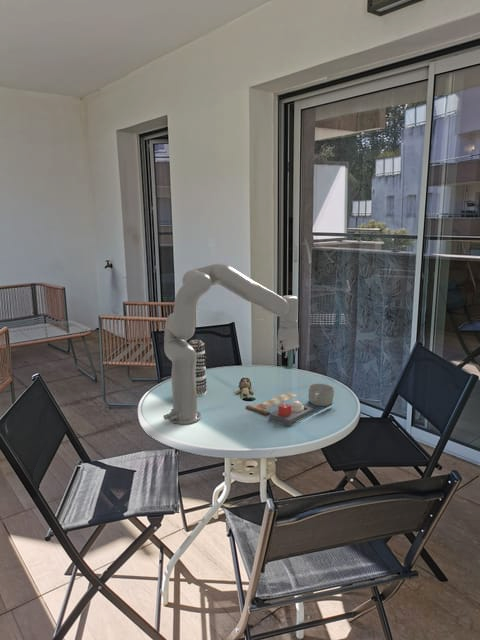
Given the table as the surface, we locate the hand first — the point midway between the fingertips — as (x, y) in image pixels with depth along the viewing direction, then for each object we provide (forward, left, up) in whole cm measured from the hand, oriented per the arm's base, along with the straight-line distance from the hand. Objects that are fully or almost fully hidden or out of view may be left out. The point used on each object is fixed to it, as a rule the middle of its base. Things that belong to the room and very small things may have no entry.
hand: (288, 364), depth 210 cm
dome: (-12, -14, -15) cm, 24 cm away
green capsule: (0, 0, -2) cm, 2 cm away
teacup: (+2, -16, -16) cm, 23 cm away
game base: (-15, -14, -16) cm, 26 cm away
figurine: (-10, +17, -16) cm, 25 cm away
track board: (-9, 0, -16) cm, 18 cm away
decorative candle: (-23, +35, -16) cm, 45 cm away
